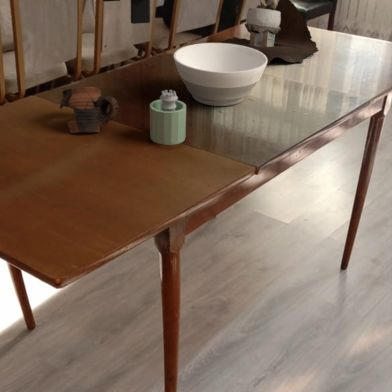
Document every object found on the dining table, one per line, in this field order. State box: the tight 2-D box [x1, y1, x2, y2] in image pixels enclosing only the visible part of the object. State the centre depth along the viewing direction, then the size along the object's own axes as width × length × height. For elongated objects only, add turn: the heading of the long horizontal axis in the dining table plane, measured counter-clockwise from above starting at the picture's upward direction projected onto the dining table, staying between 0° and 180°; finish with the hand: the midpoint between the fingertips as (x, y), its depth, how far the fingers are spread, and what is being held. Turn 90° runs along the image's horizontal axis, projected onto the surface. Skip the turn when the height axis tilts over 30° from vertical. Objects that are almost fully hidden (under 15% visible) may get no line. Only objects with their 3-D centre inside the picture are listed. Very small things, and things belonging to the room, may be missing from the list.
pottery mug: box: [59, 86, 120, 134], centre depth 119 cm, size 12×10×8 cm
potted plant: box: [221, 0, 320, 67], centre depth 155 cm, size 20×19×25 cm
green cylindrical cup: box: [149, 99, 187, 146], centre depth 116 cm, size 7×7×6 cm
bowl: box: [173, 42, 267, 107], centre depth 132 cm, size 19×20×8 cm
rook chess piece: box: [159, 89, 179, 111], centre depth 115 cm, size 4×4×8 cm
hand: (125, 11), depth 97 cm, fingers open, 13 cm apart
